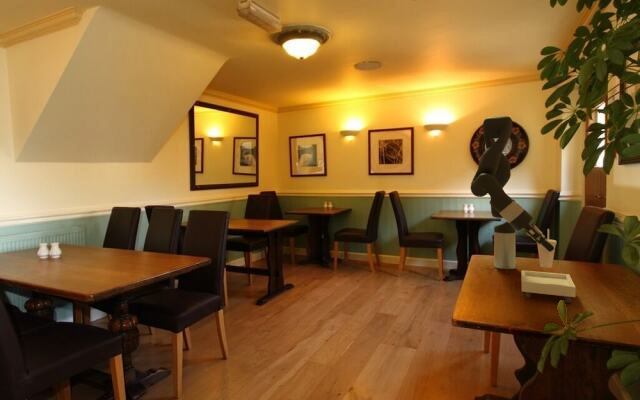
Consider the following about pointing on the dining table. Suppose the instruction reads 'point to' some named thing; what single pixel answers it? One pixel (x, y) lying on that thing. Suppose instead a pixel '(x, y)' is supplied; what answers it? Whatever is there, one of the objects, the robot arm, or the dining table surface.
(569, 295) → the cart
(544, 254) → the smoothie
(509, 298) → the dining table surface
